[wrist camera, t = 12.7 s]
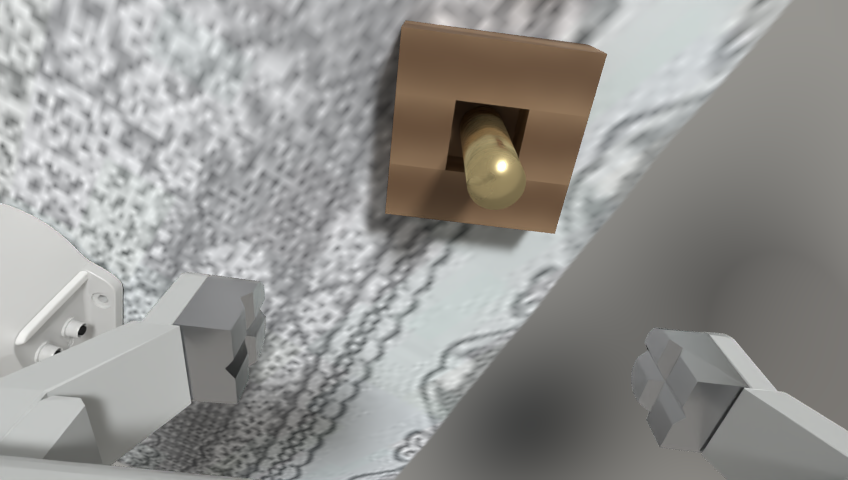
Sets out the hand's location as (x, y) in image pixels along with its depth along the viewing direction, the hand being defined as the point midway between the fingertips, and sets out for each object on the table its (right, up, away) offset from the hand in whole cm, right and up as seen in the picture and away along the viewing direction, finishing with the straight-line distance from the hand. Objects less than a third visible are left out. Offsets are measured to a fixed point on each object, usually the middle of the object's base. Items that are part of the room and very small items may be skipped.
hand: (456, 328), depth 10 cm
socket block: (+3, +10, +24) cm, 26 cm away
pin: (+3, +10, +23) cm, 25 cm away
